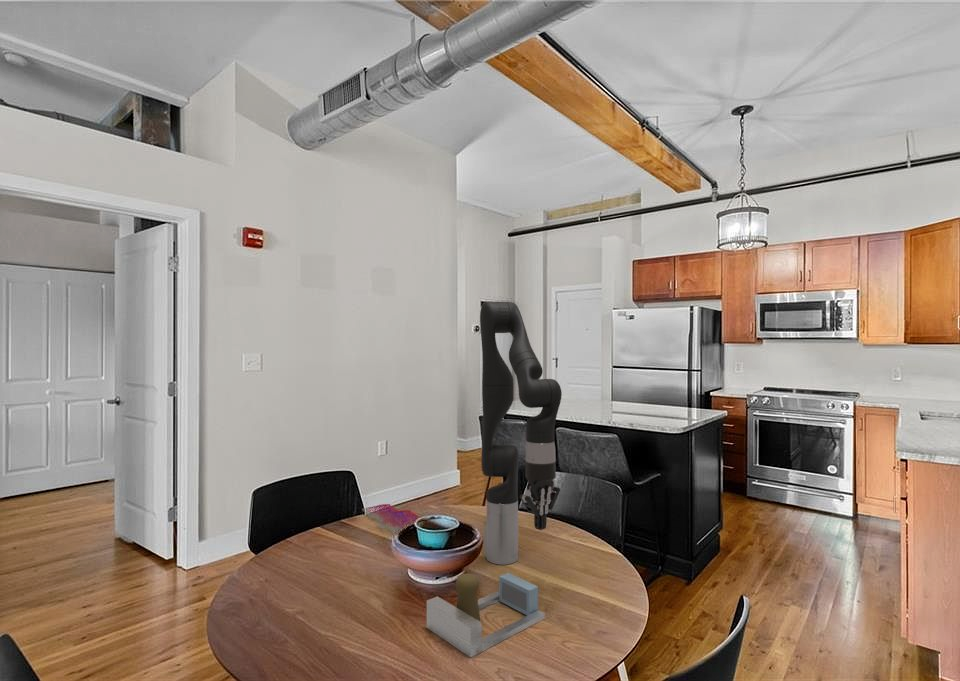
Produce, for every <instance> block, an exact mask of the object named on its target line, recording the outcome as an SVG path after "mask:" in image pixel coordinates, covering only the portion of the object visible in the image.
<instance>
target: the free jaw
mask: <svg viewBox="0 0 960 681" xmlns="http://www.w3.org/2000/svg"><path fill="white" fill-rule="evenodd" d="M498 583H499V584H498V585H499V586H498V591H499V601H498V602H500V603H503V604H505V605H506V606H508V607H510V608H512V609H514V610H515V611H518V612H519V613H521V614H524V615H526V616H527V615H529V614H531V613H533V612H535V611H537V610H539V586H538V585H536V584H534V583H532V582H529V581H527V580H524V579H522V578H521V577H518V576H516V575H514V574H512V573H510V572H507V573H503V574H502V575H499V577H498Z"/></svg>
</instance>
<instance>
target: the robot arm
mask: <svg viewBox="0 0 960 681" xmlns="http://www.w3.org/2000/svg"><path fill="white" fill-rule="evenodd" d="M479 312H480V313H479V314H480V315H479V325H480V337H481V338H480V340H481V350H482V351H481V352H482V356H481V357H482V358H481V359H482V360H481V361H482V369H481V370H482V373H481V374H482V378H481V397H482V399H481V400H482V401H481V402H482V437H481V438H482V441H481V459H480V460H481V461H480V462H481V466H480V467H481V471H482V474H483V476H485V477H489V478H490V477H492V478H500V477H501V478H506V479H505V481H504V482H502V483H499V484H497V485H494V486H491V487H490V488H488V489H487V490H486V523H485V524H484V527H483V528H484V529H483V530H484V532H483V533H484V534H483V537H484V538H483V539H484V541H483V542H484V543H483V544H484V546H483V547H484V548H483V549H484V550H483V551H484V554H483V556H484V557H485V558H486V560H487V561H488V562H490V563H492V564H496V565H500V566H501V565H511V564H514V563H515V562H517V561H518V560H519V499H520V500H521V502H522V504H523V506H524V507H525V509H526V510H527V512H528V513H531V514H533V515H534V521H533V523H534V524H533V525H534V529H536V530H539V531H542V530H545V529H547V515H548V513H549V510H550V511H552V510H553V509H554V505H555V503H556V501H557V499H558V497H559V494H560V492H561V488H560V487H557V486H555V482H554V480H555V479H556V472H557V470H556V469H557V467H556V444H555V425H556V420H557V417H558V412H559V409H560V405H561V402H562V401H561V400H562V395H563V394H562V393H563V392H562V388H561V385H560V384H559V382H558V381H557V380H556V379H553V378H541V377H542V376H543V367H542V364H541V363H540V361H539V359H538V357H537V356H536V353H535V352H534V350H533V348H532V346H531V343H530V339H529V337H528V333H527V330H526V326H525V323H524V319H523V316H522V313H521V311H520V309H519V306H518V305H517V304H516V303H514V302H513V301H484V302H483V303H482V305H481V307H480V311H479ZM509 333H510V335H511V336H512V338H513V340H512V342H511V344H510V347H509V351H508V360H509V362H510V365H511V367H512V371H513V372H514V374H515V376H516V381H517V386H518V398H519V401H520V402H521V404H522V405H523V406H524V407H526V408H530V409H534V408H542V409H541V411H540V413H538V414H537V415H534V416H531V417H529V418H528V419H527V420H526V423H525V424H526V425H525V428H526V430H525V431H526V432H525V436H526V438H525V441H526V442H525V450H524V451H525V452H524V457H525V459H524V461H525V462H524V463H525V464H524V465H525V466H524V468H525V469H524V470H525V474H524V475H525V476H524V477H525V478H526V480H527V485H526V492H524V494H522V493H521V494H520V495H519V496H518V488H519V486H518V484H519V482H518V481H519V480H518V478H519V464H520V463H519V459H520V457H519V456H520V455H519V450H518V447H517V446H516V445H513V444H493V442H494V437H495V435H496V432H497V430H498V428H499V426H500V424H501V422H502V421H503V420H504V418H505V416H506V415H507V413H508V412H509V411H510V409H511V407H512V405H513V403H514V397H515V396H514V383H515V382H514V376H513V374H512V372H511V370H510V368H509V367H508V365H507V363H506V362H505V360H504V359H503V357H502V355H501V354H500V352H499V349H498V344H497V340H496V334H509Z"/></svg>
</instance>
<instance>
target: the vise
mask: <svg viewBox="0 0 960 681" xmlns="http://www.w3.org/2000/svg"><path fill="white" fill-rule="evenodd" d="M497 602H500V601H499V590H497V591H495V592H493V593H490V594H488V595H486V596H484V597H482V598H479V599H478V607H479V611H480V610H482V609H484V608H486V607H489V606H491V605H493V604H495V603H497ZM545 619H546V613H545V612H544V611H541V610H539V609H538V610H537V611H535V612H533V613H531V614H529V615H526V616H524V617H521V618H519V619H518V620H516V621H514V622H511V623H509V624H508V625H505V626H503V627H502V628H499V629H498V630H496V631H494V632H492V633H489V634H488V635H486V636H484V637H482V634H483V633H482V632H483V629H482V628H483V626H482V624H483V623H482V621H481V620H480V621H478V620H477V619H475V618H473V617H472V616H470V615H468V614H466V613H465V612H463V611H461V610H460V609H458V608H456V605H455V606H454V605H453V604H452V603H449V602H448V601H447V600H444V599H442V598H441V597H439V596H438V595H437V596H435V597H432V598H429V599H427V600H426V628H427V630H429V631H431V632H432V633H434V634H435V635H436V636H438V637H440V638H441V639H442V640H444V641H445V642H446V643H449V644H450V645H451V646H453V647H454V648H456V649H457V650H458V651H460V652H462V653H463V654H465V655H466V656H467V657H469V659H470V658H473V657H475V656H477V655H478V654H480V653H482V652H484V651H486V650H488V649H490V648H492V647H493V646H495V645H498V644H499V643H501V642H503V641H504V640H505V641H506V640H507V639H508V638H511V637H512V636H514V635H516V634H518V633H520V632H522V631H524V630H526V629H527V628H530V627H531V626H534V625H536V624H537V623H539V622H541V621H543V620H545Z"/></svg>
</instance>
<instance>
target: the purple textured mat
mask: <svg viewBox="0 0 960 681" xmlns="http://www.w3.org/2000/svg"><path fill="white" fill-rule="evenodd" d="M363 512H364V513H365V514H366V515H367V516H368V517H369V519H371V520H377V521H376V522H374V524H377V526H378V527H379V528H380V529H381V530H383V532H386V530H388V531H390V532H391V534H393V533H396V531H398V530H399V529H401V530H402V527H404V526H406V525H408V526H409V525H411V523H413V522H416V519H418V517H419V515H417V514H416V513H415V512H413V511H411V510H410V509H407V510H406V509H405V510H403V509H402V510H401V509H400V510H398V509H397V508H395V507H394V506H392V504H390V503H383V504H377V505H373V506H368V507H365V508H363ZM413 524H414V523H413ZM404 528H405V527H404ZM396 529H397V530H396ZM398 532H399V531H398Z"/></svg>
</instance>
